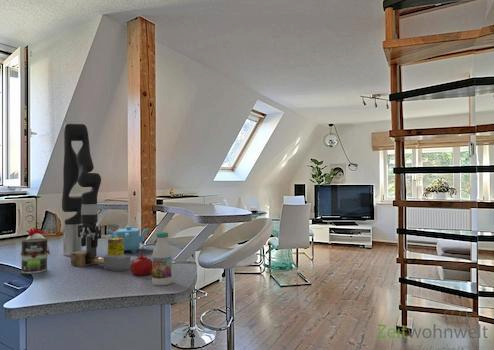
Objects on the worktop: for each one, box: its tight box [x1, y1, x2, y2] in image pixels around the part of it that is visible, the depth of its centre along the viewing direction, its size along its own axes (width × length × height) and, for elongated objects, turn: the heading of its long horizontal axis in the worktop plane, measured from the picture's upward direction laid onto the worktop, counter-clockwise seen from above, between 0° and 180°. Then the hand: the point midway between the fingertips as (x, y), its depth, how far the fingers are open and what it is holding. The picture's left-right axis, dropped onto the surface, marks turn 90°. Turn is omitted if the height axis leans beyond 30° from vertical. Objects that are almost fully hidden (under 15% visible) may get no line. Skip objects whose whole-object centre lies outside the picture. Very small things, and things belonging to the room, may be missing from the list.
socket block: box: [70, 249, 95, 268], centre depth 176 cm, size 8×8×6 cm
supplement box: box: [107, 238, 125, 256], centre depth 187 cm, size 6×6×11 cm
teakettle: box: [106, 225, 150, 253], centre depth 210 cm, size 19×19×15 cm
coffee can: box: [20, 238, 49, 275], centre depth 163 cm, size 10×10×14 cm
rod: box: [85, 235, 104, 266], centre depth 171 cm, size 21×3×13 cm, turn 63°
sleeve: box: [103, 254, 132, 272], centre depth 166 cm, size 11×6×6 cm, turn 63°
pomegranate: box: [129, 252, 152, 276], centre depth 156 cm, size 10×10×9 cm
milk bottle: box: [151, 231, 173, 286], centre depth 141 cm, size 8×8×20 cm
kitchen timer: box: [20, 227, 50, 255], centre depth 204 cm, size 14×14×15 cm
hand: (89, 246), depth 174 cm, fingers open, 7 cm apart
